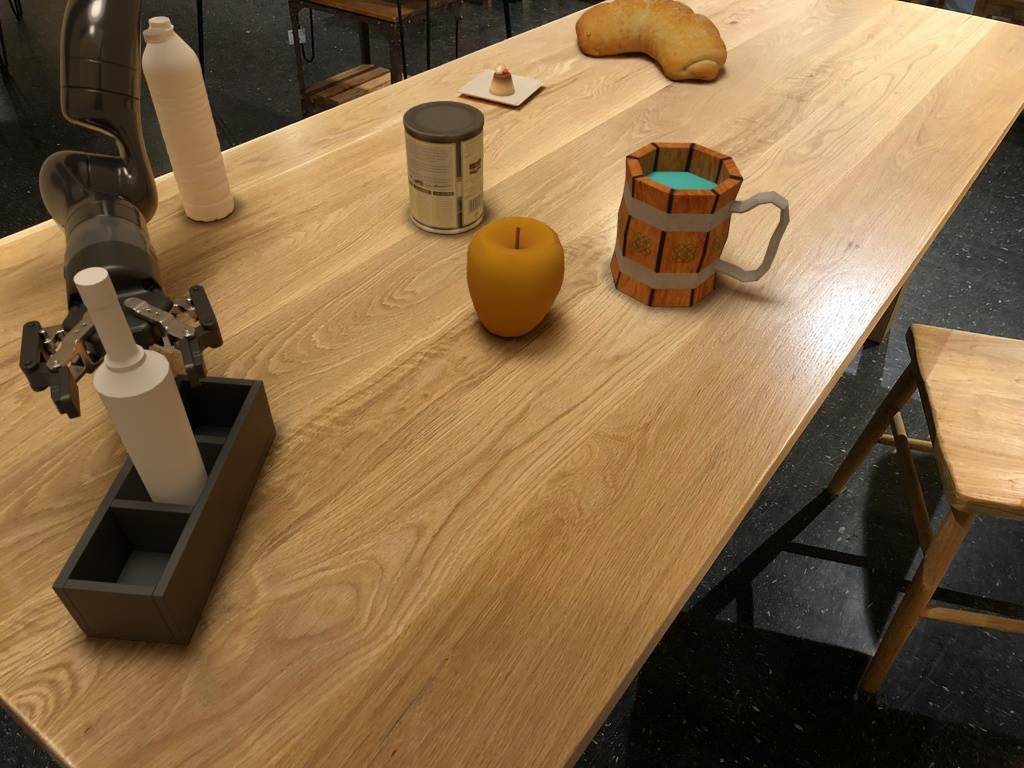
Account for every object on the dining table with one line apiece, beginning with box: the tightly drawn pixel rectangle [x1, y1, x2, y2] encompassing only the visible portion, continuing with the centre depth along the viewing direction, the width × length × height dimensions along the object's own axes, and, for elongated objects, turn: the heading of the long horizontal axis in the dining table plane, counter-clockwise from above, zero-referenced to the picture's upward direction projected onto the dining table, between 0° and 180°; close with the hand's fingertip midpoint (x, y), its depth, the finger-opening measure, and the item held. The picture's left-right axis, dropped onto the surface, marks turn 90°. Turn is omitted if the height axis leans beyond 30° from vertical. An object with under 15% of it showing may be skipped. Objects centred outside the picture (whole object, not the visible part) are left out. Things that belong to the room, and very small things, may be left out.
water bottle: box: [141, 16, 235, 222], centre depth 96 cm, size 9×6×25 cm
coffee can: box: [402, 100, 485, 235], centre depth 101 cm, size 10×10×14 cm
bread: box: [574, 0, 728, 81], centre depth 150 cm, size 32×20×10 cm, turn 53°
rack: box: [51, 373, 277, 646], centre depth 65 cm, size 8×23×7 cm, turn 176°
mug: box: [609, 141, 791, 307], centre depth 91 cm, size 20×14×15 cm
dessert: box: [456, 63, 547, 107], centre depth 136 cm, size 12×12×5 cm
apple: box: [466, 216, 566, 338], centre depth 85 cm, size 11×11×13 cm
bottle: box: [74, 267, 208, 506], centre depth 58 cm, size 5×5×25 cm
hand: (133, 394), depth 57 cm, fingers open, 8 cm apart
